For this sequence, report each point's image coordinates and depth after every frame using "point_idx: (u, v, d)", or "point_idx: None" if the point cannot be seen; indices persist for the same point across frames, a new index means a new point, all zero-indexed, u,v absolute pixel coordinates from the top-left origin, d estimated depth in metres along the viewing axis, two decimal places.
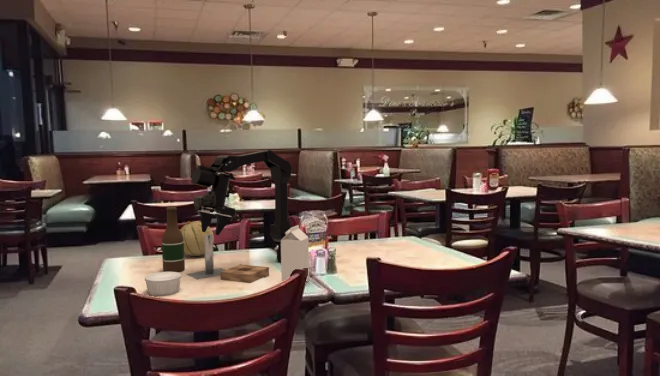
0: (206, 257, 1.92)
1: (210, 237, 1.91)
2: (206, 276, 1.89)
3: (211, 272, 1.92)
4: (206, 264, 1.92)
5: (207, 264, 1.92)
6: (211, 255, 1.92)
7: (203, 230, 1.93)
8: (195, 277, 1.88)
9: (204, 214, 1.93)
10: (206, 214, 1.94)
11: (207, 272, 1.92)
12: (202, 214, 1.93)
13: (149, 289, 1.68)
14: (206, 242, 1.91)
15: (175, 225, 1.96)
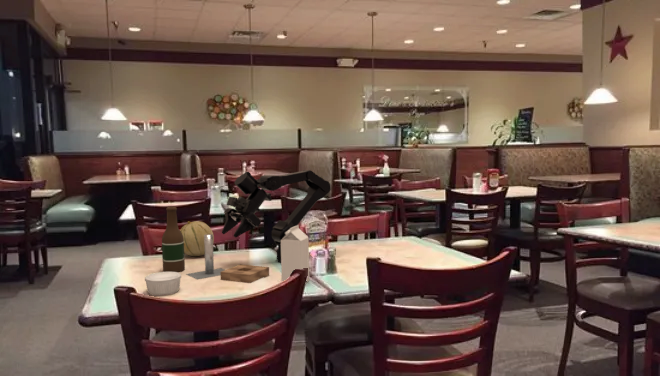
0: (206, 257, 1.92)
1: (210, 237, 1.91)
2: (206, 276, 1.89)
3: (211, 272, 1.92)
4: (206, 264, 1.92)
5: (207, 264, 1.92)
6: (211, 255, 1.92)
7: (223, 232, 2.01)
8: (195, 277, 1.88)
9: (230, 219, 2.03)
10: (232, 219, 2.03)
11: (207, 272, 1.92)
12: (229, 218, 2.02)
13: (149, 289, 1.68)
14: (206, 242, 1.91)
15: (175, 225, 1.96)
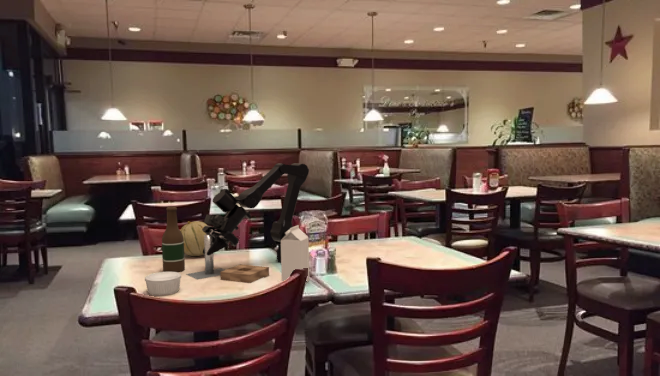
0: (206, 257, 1.92)
1: (210, 237, 1.91)
2: (206, 276, 1.89)
3: (211, 272, 1.92)
4: (206, 264, 1.92)
5: (207, 264, 1.92)
6: (211, 255, 1.92)
7: (204, 251, 1.93)
8: (195, 277, 1.88)
9: None
10: (213, 239, 1.96)
11: (207, 272, 1.92)
12: None
13: (149, 289, 1.68)
14: (206, 242, 1.91)
15: (175, 225, 1.96)
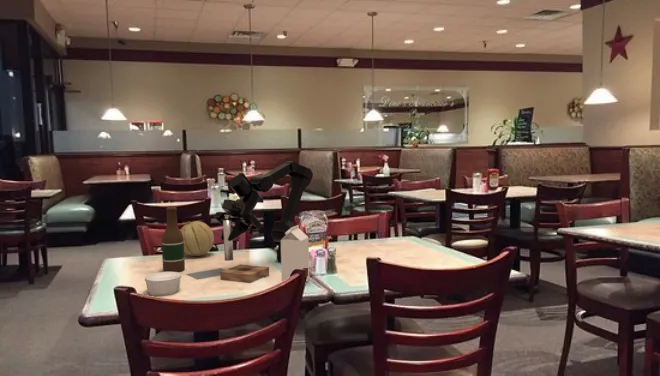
0: (226, 243, 1.87)
1: (230, 222, 1.87)
2: (206, 276, 1.89)
3: (231, 258, 1.88)
4: (226, 250, 1.87)
5: (228, 250, 1.87)
6: (231, 240, 1.87)
7: (222, 237, 1.88)
8: (195, 277, 1.88)
9: None
10: None
11: (228, 259, 1.87)
12: None
13: (149, 289, 1.68)
14: (226, 227, 1.86)
15: (175, 225, 1.96)
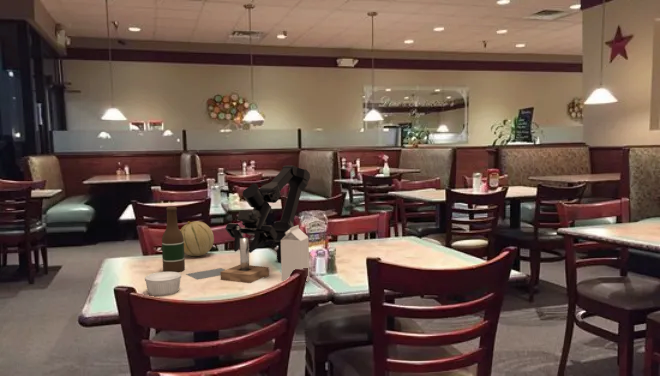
0: (244, 261, 1.85)
1: (247, 240, 1.86)
2: (206, 276, 1.89)
3: None
4: (244, 268, 1.86)
5: (245, 268, 1.86)
6: (248, 258, 1.87)
7: (235, 249, 1.87)
8: (195, 277, 1.88)
9: (239, 235, 1.90)
10: (240, 235, 1.90)
11: None
12: (238, 234, 1.89)
13: (149, 289, 1.68)
14: (244, 246, 1.85)
15: (175, 225, 1.96)
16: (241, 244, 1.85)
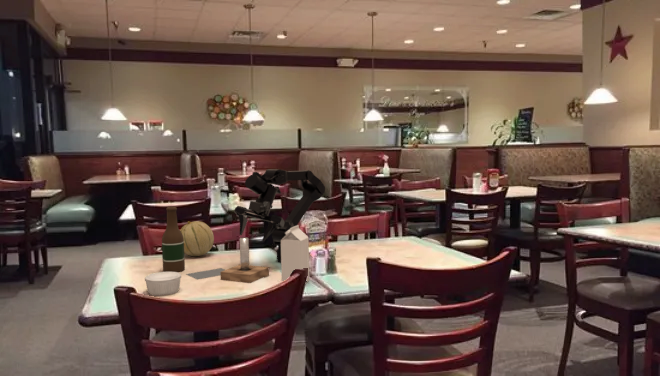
0: (244, 261, 1.85)
1: (247, 240, 1.86)
2: (206, 276, 1.89)
3: None
4: (244, 268, 1.86)
5: (245, 268, 1.86)
6: (248, 258, 1.87)
7: (241, 233, 1.99)
8: (195, 277, 1.88)
9: (244, 218, 2.01)
10: (245, 218, 2.01)
11: None
12: (243, 218, 2.00)
13: (149, 289, 1.68)
14: (244, 246, 1.85)
15: (175, 225, 1.96)
16: (241, 244, 1.85)
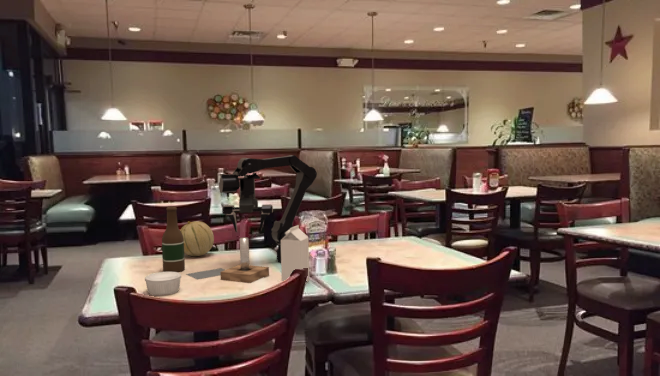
0: (244, 261, 1.85)
1: (247, 240, 1.86)
2: (206, 276, 1.89)
3: None
4: (244, 268, 1.86)
5: (245, 268, 1.86)
6: (248, 258, 1.87)
7: (236, 230, 2.05)
8: (195, 277, 1.88)
9: (234, 216, 2.04)
10: (234, 215, 2.05)
11: None
12: (234, 216, 2.03)
13: (149, 289, 1.68)
14: (244, 246, 1.85)
15: (175, 225, 1.96)
16: (241, 244, 1.85)
